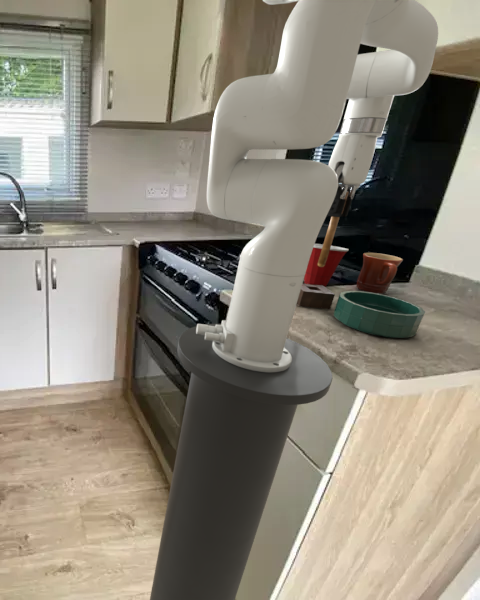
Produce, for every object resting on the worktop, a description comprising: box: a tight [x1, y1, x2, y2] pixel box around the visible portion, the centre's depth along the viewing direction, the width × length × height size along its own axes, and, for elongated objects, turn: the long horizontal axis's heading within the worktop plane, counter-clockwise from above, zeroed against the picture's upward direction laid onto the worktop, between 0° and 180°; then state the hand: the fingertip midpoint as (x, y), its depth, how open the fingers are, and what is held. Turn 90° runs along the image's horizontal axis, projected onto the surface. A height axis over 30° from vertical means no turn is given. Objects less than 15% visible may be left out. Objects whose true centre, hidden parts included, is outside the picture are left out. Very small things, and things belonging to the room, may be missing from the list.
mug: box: [355, 252, 404, 295], centre depth 99 cm, size 12×9×10 cm
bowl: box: [333, 290, 426, 339], centre depth 78 cm, size 15×15×6 cm
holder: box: [296, 283, 336, 310], centre depth 90 cm, size 7×7×4 cm
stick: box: [318, 192, 349, 267], centre depth 84 cm, size 2×2×18 cm
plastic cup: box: [303, 243, 349, 288], centre depth 105 cm, size 11×11×12 cm
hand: (335, 215), depth 83 cm, fingers closed on stick, 2 cm apart
